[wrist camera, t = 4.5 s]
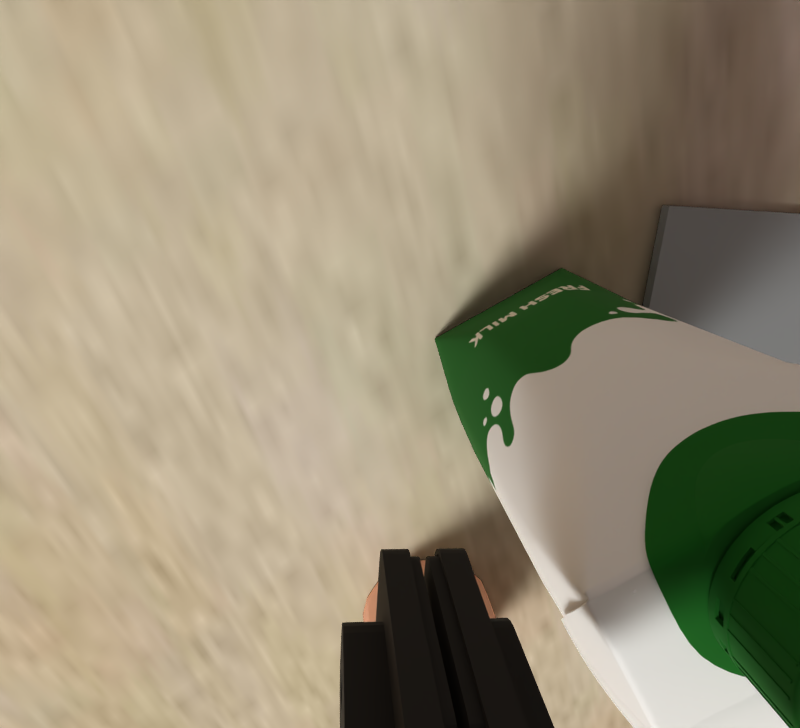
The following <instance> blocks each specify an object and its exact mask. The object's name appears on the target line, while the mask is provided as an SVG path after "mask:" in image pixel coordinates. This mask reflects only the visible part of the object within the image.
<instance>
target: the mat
mask: <svg viewBox="0 0 800 728" xmlns="http://www.w3.org/2000/svg"><path fill="white" fill-rule="evenodd" d="M643 306H644V307H646V308H649V309H651V310H654V311H656V312H659V313H661V314H664V315H666V316H669V317H671V318H674V319H677V320H679V321H682V322H684V323H687V324H689V325H692V326H694V327H697V328H699V329H702V330H705V331H707V332H710V333H712V334H715V335H717V336H720V337H722V338H725V339H728V340H730V341H733V342H735V343H738V344H740V345H743V346H745V347H748V348H751V349H753V350H756V351H758V352H761V353H763V354H766V355H769V356H771V357H774V358H776V359H779V360H781V361H784V362H787V363H793V364H799V365H800V214H797V213H781V212H765V211H748V210H732V209H716V208H700V207H683V206H667V205H662V209H661V214H660V219H659V224H658V229H657V234H656V239H655V244H654V250H653V255H652V260H651V265H650V270H649V275H648V280H647V285H646V291H645V296H644V301H643Z"/></svg>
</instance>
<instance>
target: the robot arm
mask: <svg viewBox="0 0 800 728" xmlns="http://www.w3.org/2000/svg"><path fill="white" fill-rule="evenodd" d="M340 728H554V726H553V723H552V721H551V718H550V716H549V713H548V711H547V708H546V706H545V703H544V701H543V698H542V696H541V694H540V691H539V689H538V686H537V684H536V681H535V679H534V676H533V674H532V671H531V669H530V666H529V664H528V661H527V659H526V656H525V654H524V651H523V649H522V646H521V644H520V641H519V639H518V636H517V634H516V631H515V629H514V627H513V625H512V623H511V621H510V620H509V619H508V618H490V617H489V615H488V612H487V609H486V606H485V603H484V601H483V598H482V595H481V592H480V589H479V586H478V584H477V581H476V578H475V575H474V572H473V570H472V567H471V564H470V561H469V558H468V555H467V553H466V551H465V549H463V548H459V549H437V550H436V552H435V556H428V557H426V561H425V571H424V575H423V570H422V566H421V561H420V558H419V557H410V553H409V550H408V549H381V552H380V562H379V578H378V593H377V608H376V622H347V623H342V635H341V659H340Z"/></svg>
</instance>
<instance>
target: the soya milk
mask: <svg viewBox="0 0 800 728" xmlns="http://www.w3.org/2000/svg"><path fill="white" fill-rule="evenodd" d="M435 342H436V345H437V348H438V352H439V355H440V359H441V362H442V366H443V369H444V373H445V376H446V379H447V383H448V386H449V390H450V393H451V396H452V399H453V402H454V405H455V407H456V410H457V413H458V415H459V418H460V420H461V423H462V425H463V427H464V429H465V431H466V434H467V436H468V438H469V440H470V443H471V445H472V447H473V449H474V452H475V454H476V456H477V458H478V460H479V461H480V463H481V465H482V467H483V469H484V471H485V473H486V475H487V477H488V479H489V481H490V483H491V485H492V487H493V488H494V490H495V492H496V494H497V496H498V498H499V500H500V502H501V504H502V506H503V508H504V510H505V512H506V513H507V515H508V517H509V519H510V521H511V523H512V525H513V527H514V529H515V531H516V533H517V534H518V536H519V538H520V540H521V542H522V544H523V546H524V548H525V550H526V552H527V554H528V555H529V557H530V559H531V561H532V563H533V565H534V567H535V569H536V571H537V573H538V575H539V576H540V578H541V580H542V582H543V584H544V585H545V587H546V589H547V590H548V592H549V594H550V595H551V597H552V598H553V600H554V602H555V603H556V605H557V607H558V608H559V610H560V612H561V613H562V615H563V617H564V618H562V622H563V624H564V626H565V628H566V630H567V632H568V634H569V636H570V637H571V639H572V641H573V643H574V644H575V646H576V648H577V650H578V651H579V653H580V655H581V656H582V658H583V660H584V661H585V663H586V664H587V666H588V667H589V669H590V670H591V672H592V673H593V675H594V676H595V678H596V679H597V681H598V682H599V684H600V685H601V686H602V688H603V689H604V690H605V692H606V693H607V695H608V696H609V697H610V699H611V700H612V701H613V703H614V704H615V705H616V707H617V708H618V709H619V710H620V711H621V713H622V714H623V715H624V716H625V718H626V719H627V720H628V721H629V723H630V724H631V725H632V726H633V727H634V728H800V365H799V364H793V363H787V362H784V361H781V360H779V359H776V358H774V357H771V356H769V355H766V354H763V353H761V352H758V351H756V350H753V349H751V348H748V347H745V346H743V345H740V344H738V343H735V342H733V341H730V340H728V339H725V338H722V337H720V336H717V335H715V334H712V333H710V332H707V331H705V330H702V329H699V328H697V327H694V326H692V325H689V324H687V323H684V322H682V321H679V320H677V319H674V318H671V317H669V316H666V315H664V314H661V313H659V312H656V311H654V310H651V309H649V308H646V307H644V306H641V305H638V304H636V303H633V302H631V301H629V300H627V299H625V298H623V297H621V296H619V295H617V294H615V293H613V292H611V291H609V290H607V289H605V288H602V287H600V286H598V285H596V284H594V283H592V282H590V281H588V280H586V279H584V278H582V277H579V276H577V275H575V274H573V273H571V272H569V271H567V270H565V269H563V268H561V269H559V270H557V271H555V272H554V273H552V274H550V275H548V276H546V277H545V278H543V279H541V280H539V281H537V282H536V283H534V284H532V285H530V286H528V287H527V288H525V289H523V290H521V291H519V292H518V293H516V294H514V295H512V296H510V297H509V298H507V299H505V300H503V301H501V302H500V303H498V304H496V305H494V306H492V307H491V308H489V309H487V310H485V311H483V312H482V313H480V314H478V315H476V316H474V317H473V318H471V319H469V320H467V321H465V322H464V323H462V324H460V325H458V326H456V327H455V328H453V329H451V330H449V331H447V332H446V333H444V334H442V335H440V336H438V337H437V338H435Z"/></svg>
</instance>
